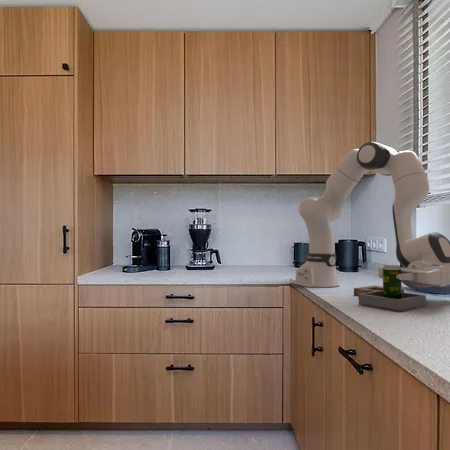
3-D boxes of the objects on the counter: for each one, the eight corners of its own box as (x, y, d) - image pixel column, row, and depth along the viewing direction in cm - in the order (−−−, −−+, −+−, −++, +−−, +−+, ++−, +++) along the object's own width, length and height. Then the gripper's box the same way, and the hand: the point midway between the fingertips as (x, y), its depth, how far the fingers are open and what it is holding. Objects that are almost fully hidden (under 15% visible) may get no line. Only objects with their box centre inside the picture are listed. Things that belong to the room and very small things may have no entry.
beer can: (395, 302, 121) (394, 264, 121) (405, 305, 115) (404, 266, 116) (379, 302, 120) (379, 265, 120) (389, 305, 115) (388, 266, 115)
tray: (358, 304, 120) (358, 293, 120) (385, 300, 127) (385, 289, 128) (399, 312, 108) (398, 300, 108) (425, 306, 116) (425, 295, 116)
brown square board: (353, 295, 138) (353, 288, 139) (374, 292, 145) (374, 285, 145) (383, 299, 128) (382, 292, 128) (403, 296, 135) (403, 289, 135)
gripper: (395, 262, 132) (365, 263, 127) (449, 266, 114) (416, 268, 108) (395, 280, 132) (365, 282, 127) (449, 287, 113) (416, 290, 108)
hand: (389, 275), depth 118 cm, fingers closed on beer can, 5 cm apart
